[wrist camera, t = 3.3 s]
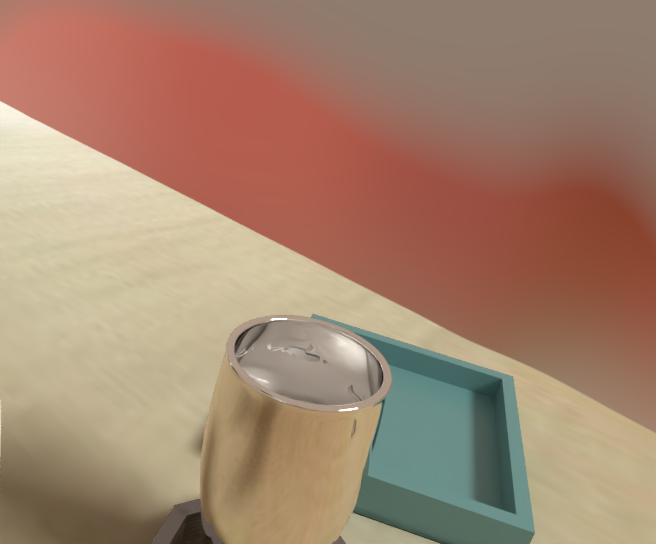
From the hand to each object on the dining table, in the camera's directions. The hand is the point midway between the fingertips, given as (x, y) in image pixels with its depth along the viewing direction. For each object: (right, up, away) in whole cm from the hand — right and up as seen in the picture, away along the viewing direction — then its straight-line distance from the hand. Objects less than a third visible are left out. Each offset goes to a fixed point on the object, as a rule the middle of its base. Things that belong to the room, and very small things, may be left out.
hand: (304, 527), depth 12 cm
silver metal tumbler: (-4, -12, +17) cm, 20 cm away
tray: (+5, -7, +32) cm, 33 cm away
